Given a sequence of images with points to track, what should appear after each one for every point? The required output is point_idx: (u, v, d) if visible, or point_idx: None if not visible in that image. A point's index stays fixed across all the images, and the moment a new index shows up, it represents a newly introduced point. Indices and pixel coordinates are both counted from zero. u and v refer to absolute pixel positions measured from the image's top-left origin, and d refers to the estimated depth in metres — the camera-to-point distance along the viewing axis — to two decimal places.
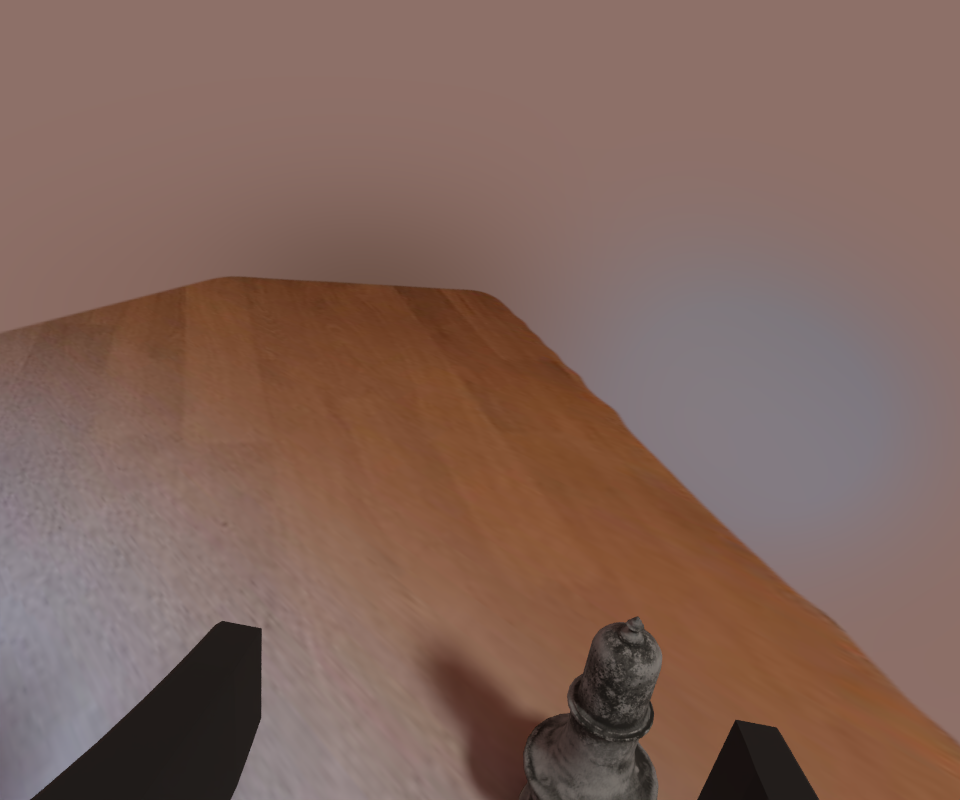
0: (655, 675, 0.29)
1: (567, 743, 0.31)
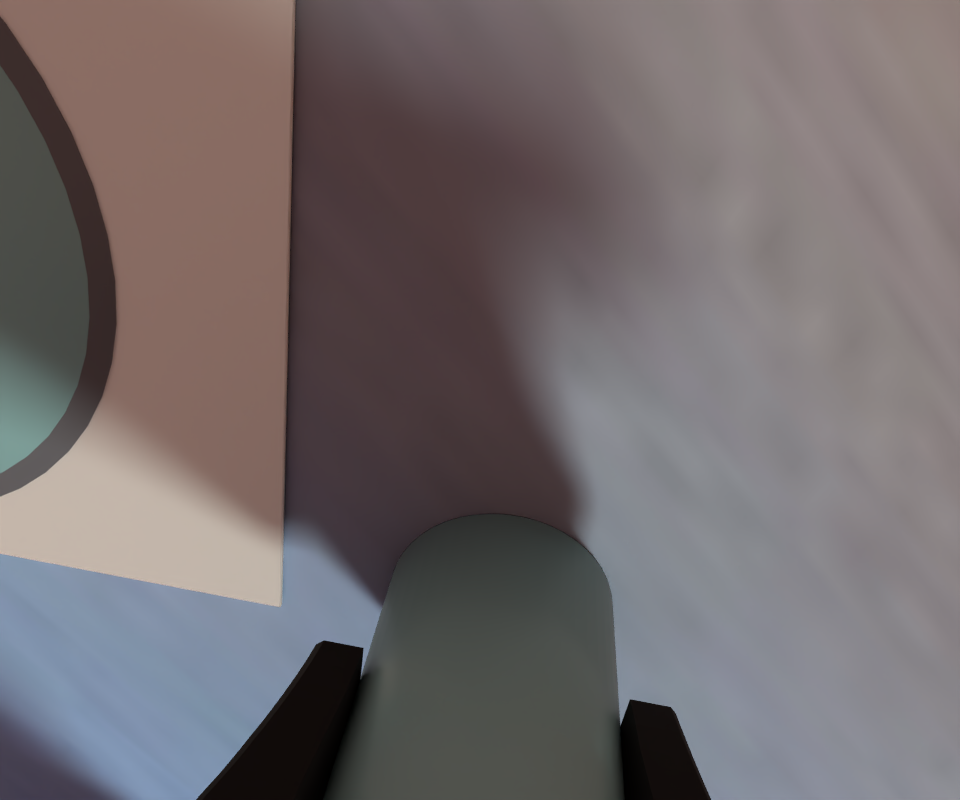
0: None
1: None
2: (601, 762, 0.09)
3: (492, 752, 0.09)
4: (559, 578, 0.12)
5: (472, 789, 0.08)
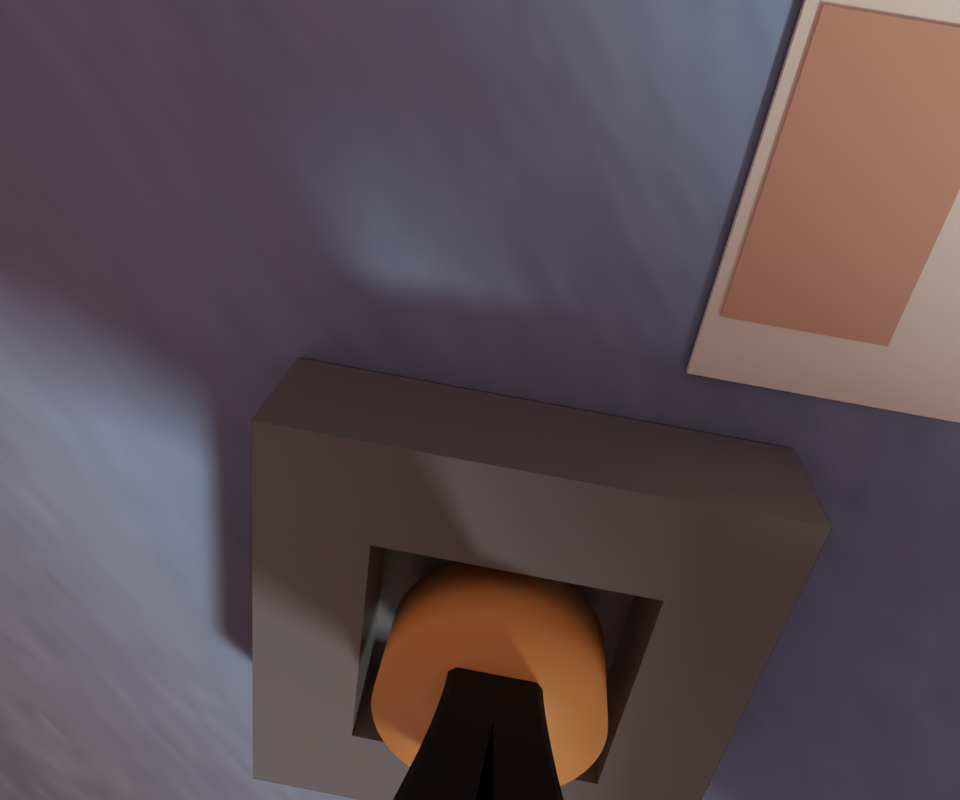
0: None
1: None
2: None
3: None
4: None
5: None
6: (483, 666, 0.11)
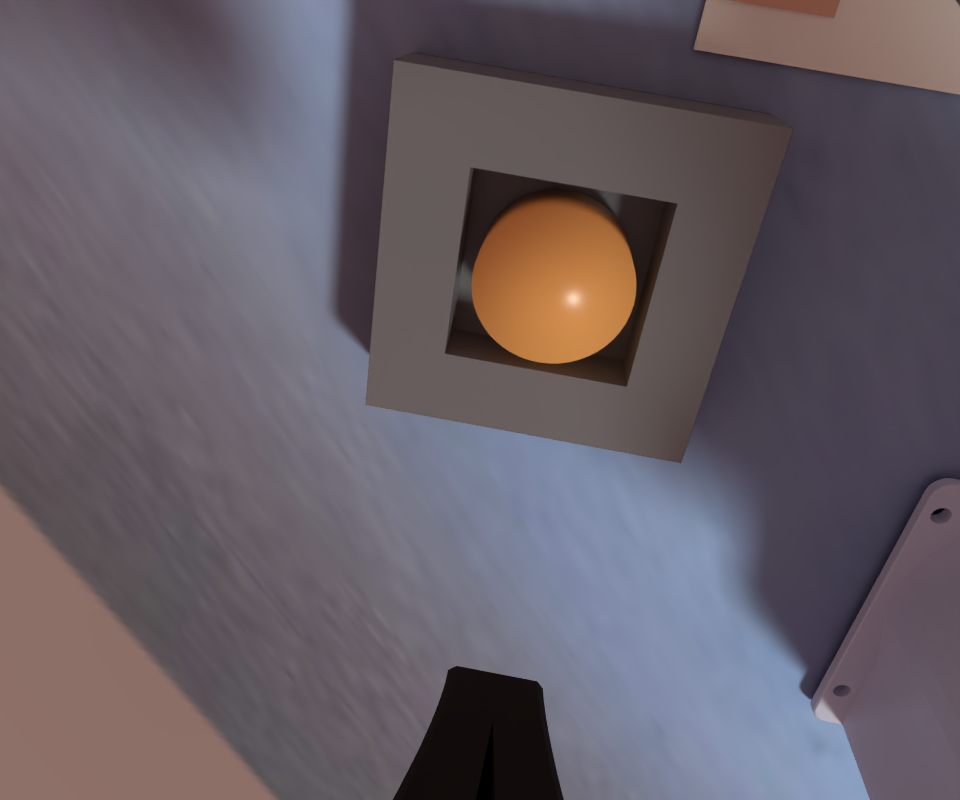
0: None
1: None
2: None
3: None
4: None
5: None
6: (551, 237, 0.16)
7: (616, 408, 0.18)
